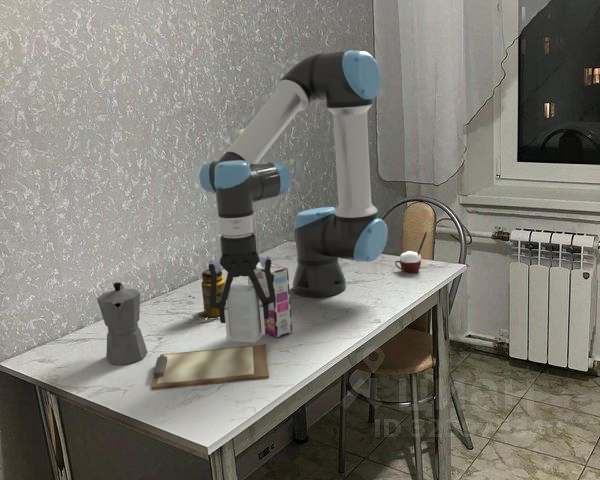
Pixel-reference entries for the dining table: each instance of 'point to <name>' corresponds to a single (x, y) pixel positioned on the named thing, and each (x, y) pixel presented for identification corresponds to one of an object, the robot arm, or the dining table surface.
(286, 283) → the candy bar box
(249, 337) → the skincare box
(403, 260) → the cocoa
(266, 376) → the clipboard
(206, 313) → the condiment
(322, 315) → the dining table surface
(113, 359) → the coffeepot
